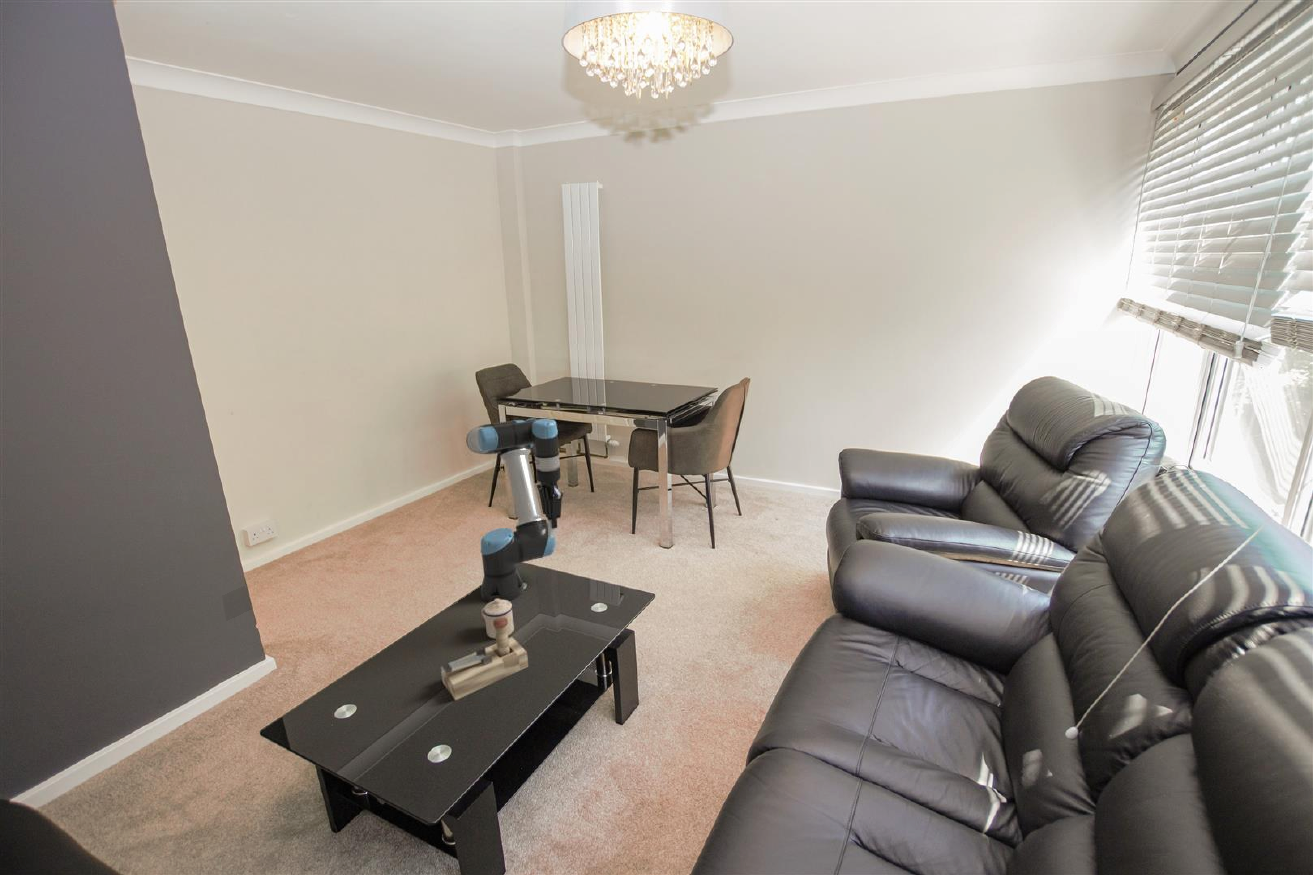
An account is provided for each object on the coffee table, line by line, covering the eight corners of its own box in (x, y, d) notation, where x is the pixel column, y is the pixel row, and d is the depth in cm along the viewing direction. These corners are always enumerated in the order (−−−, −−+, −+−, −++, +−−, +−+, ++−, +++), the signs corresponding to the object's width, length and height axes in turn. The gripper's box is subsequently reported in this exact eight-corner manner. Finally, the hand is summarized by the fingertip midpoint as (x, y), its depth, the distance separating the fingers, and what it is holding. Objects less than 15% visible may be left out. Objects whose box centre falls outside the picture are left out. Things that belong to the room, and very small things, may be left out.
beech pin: (496, 665, 174) (491, 620, 171) (508, 659, 177) (503, 615, 173) (501, 671, 171) (496, 626, 168) (514, 665, 174) (509, 621, 170)
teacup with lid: (520, 627, 193) (517, 596, 190) (500, 642, 185) (497, 610, 182) (493, 618, 199) (490, 587, 196) (473, 632, 191) (469, 600, 188)
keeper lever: (442, 667, 163) (442, 664, 163) (482, 655, 170) (482, 652, 170) (446, 673, 161) (446, 669, 160) (486, 660, 168) (486, 657, 168)
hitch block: (442, 682, 168) (439, 660, 166) (513, 651, 181) (511, 630, 179) (455, 700, 160) (452, 677, 158) (528, 666, 173) (526, 645, 171)
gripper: (527, 465, 188) (533, 533, 195) (547, 475, 179) (553, 546, 185) (548, 461, 193) (553, 527, 199) (568, 470, 183) (573, 539, 189)
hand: (553, 536), depth 192 cm, fingers closed
